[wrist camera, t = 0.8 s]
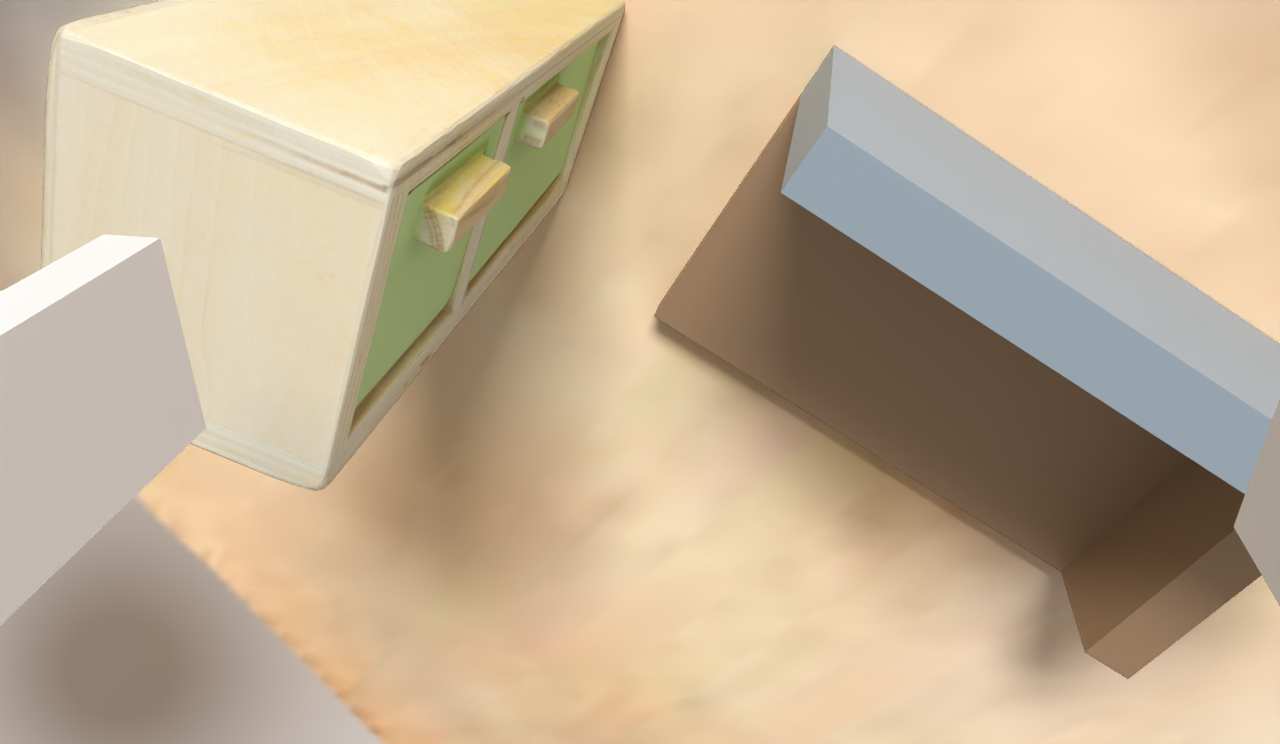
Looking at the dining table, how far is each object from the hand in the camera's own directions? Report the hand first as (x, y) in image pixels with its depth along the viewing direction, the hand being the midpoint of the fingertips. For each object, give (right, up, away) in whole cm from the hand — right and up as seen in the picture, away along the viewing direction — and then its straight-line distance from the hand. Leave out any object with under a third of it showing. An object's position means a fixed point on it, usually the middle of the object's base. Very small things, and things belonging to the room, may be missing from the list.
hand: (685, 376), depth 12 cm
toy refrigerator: (-5, +11, +26) cm, 28 cm away
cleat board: (+13, +1, +27) cm, 30 cm away
